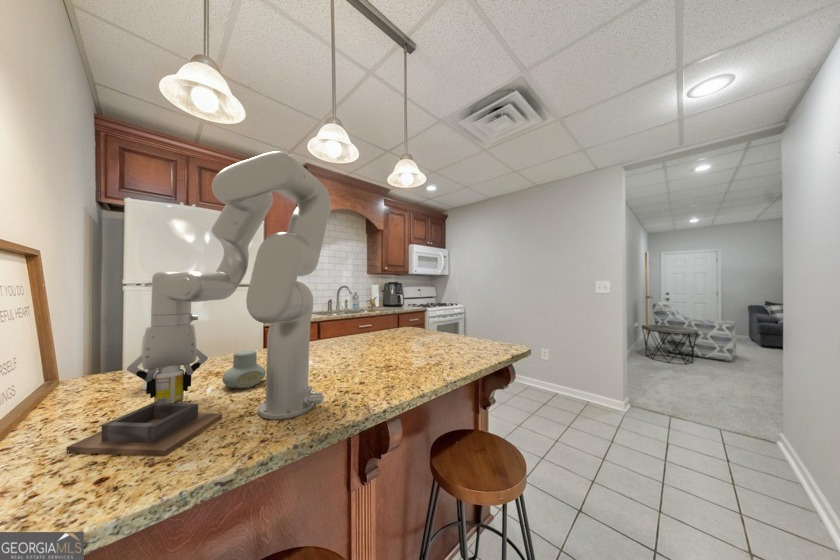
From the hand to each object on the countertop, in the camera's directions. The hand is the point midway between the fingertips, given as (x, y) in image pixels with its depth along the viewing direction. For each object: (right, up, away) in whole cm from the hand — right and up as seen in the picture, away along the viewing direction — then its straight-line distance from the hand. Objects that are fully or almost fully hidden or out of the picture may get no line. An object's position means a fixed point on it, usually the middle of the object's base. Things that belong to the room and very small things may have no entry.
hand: (169, 392), depth 70 cm
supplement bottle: (0, -3, 0) cm, 3 cm away
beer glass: (-14, -3, +11) cm, 18 cm away
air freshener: (+10, -4, +14) cm, 18 cm away
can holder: (+9, -3, -13) cm, 16 cm away
